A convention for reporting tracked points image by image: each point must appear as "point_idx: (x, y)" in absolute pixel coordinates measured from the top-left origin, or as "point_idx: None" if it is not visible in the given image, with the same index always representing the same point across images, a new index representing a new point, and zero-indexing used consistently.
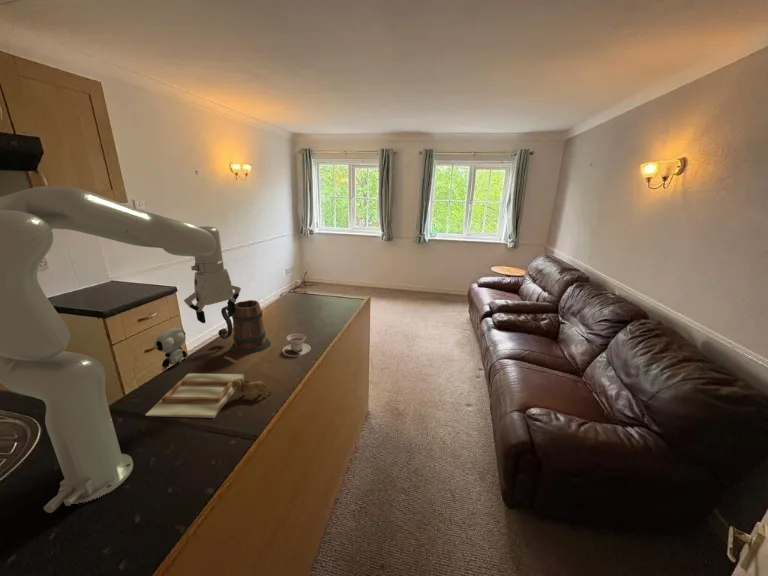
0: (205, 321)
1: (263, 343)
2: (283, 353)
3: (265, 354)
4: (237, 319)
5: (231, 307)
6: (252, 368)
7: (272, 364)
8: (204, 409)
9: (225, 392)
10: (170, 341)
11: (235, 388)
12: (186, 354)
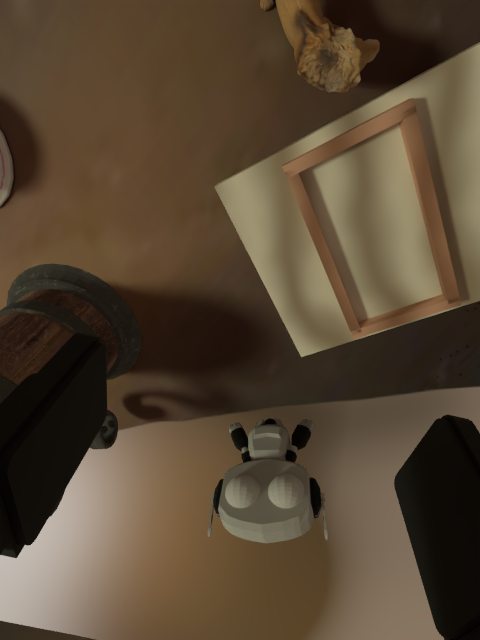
0: (448, 424)
1: (35, 291)
2: (12, 177)
3: (68, 242)
4: None
5: (56, 419)
6: (157, 208)
7: (90, 155)
8: (467, 116)
9: (356, 126)
10: (286, 491)
11: (372, 39)
12: (235, 431)
